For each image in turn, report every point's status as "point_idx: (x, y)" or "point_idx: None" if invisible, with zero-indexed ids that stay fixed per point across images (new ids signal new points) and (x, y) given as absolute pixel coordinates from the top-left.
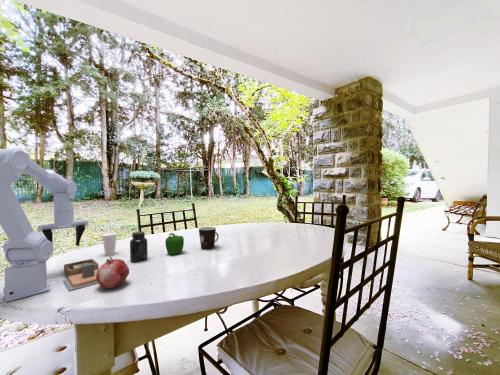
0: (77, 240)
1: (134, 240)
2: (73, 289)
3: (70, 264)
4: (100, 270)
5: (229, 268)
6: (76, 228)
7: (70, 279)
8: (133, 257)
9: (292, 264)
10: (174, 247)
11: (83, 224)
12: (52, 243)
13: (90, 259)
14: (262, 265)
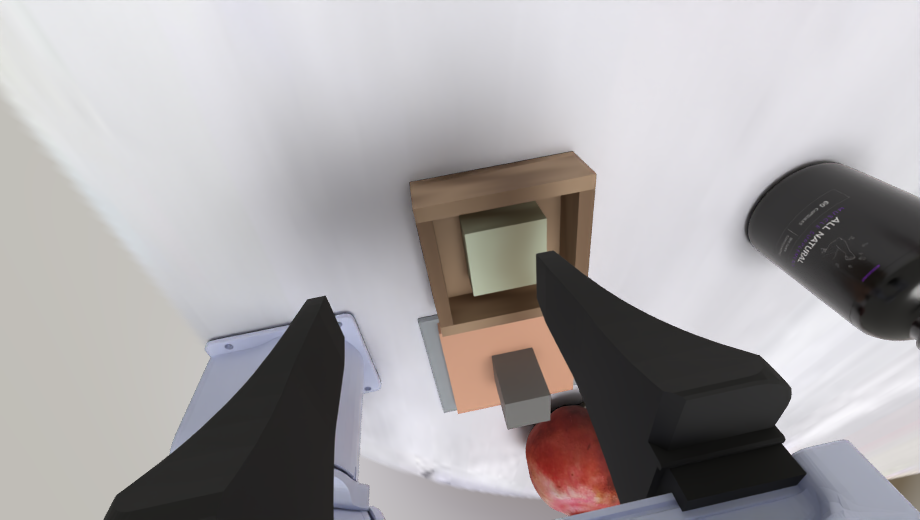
0: (560, 349)
1: (891, 332)
2: (455, 408)
3: (452, 214)
4: (544, 501)
5: (826, 434)
6: (640, 454)
7: (448, 368)
8: (770, 256)
9: (901, 461)
10: None
11: (777, 514)
12: (336, 408)
13: (580, 188)
14: (876, 446)
